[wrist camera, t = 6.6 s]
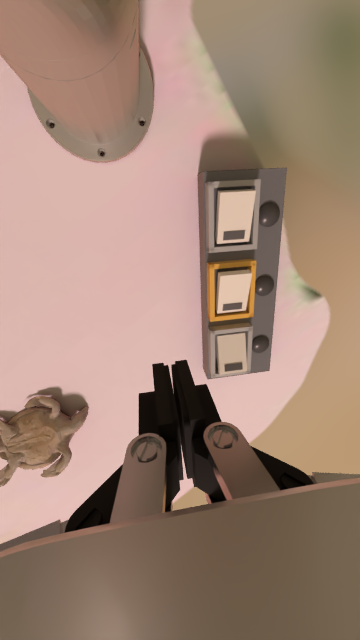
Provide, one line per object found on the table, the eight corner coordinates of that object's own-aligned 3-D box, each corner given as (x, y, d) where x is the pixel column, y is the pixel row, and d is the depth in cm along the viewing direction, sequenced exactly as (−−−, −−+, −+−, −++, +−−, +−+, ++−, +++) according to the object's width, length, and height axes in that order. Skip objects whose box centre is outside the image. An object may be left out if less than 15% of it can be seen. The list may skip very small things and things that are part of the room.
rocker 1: (217, 190, 28) (220, 192, 28) (252, 189, 29) (256, 190, 28) (214, 241, 32) (217, 244, 31) (246, 238, 32) (249, 241, 31)
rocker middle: (218, 272, 32) (220, 276, 31) (249, 269, 32) (252, 273, 31) (215, 309, 35) (217, 313, 34) (243, 306, 36) (246, 310, 35)
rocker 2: (215, 334, 37) (217, 336, 36) (242, 331, 37) (245, 333, 36) (218, 372, 37) (220, 375, 36) (244, 368, 38) (247, 371, 37)
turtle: (28, 442, 47) (22, 503, 40) (-29, 431, 41) (-48, 501, 33) (89, 393, 44) (95, 448, 37) (39, 372, 38) (34, 435, 31)
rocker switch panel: (197, 175, 32) (206, 169, 28) (274, 171, 33) (293, 165, 29) (203, 368, 42) (210, 385, 38) (261, 361, 44) (273, 376, 39)
